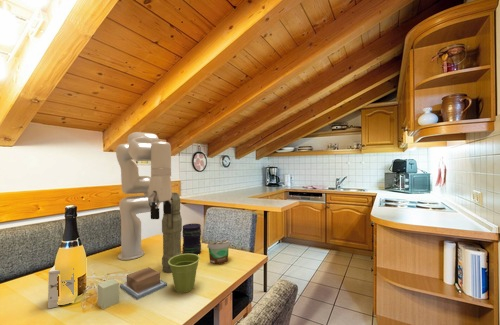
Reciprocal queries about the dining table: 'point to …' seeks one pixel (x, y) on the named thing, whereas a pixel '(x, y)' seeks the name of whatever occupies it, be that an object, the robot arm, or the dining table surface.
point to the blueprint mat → (144, 292)
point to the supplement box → (53, 287)
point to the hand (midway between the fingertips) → (161, 216)
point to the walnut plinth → (143, 279)
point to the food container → (219, 252)
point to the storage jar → (191, 239)
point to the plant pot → (184, 271)
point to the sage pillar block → (108, 293)
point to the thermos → (171, 233)
